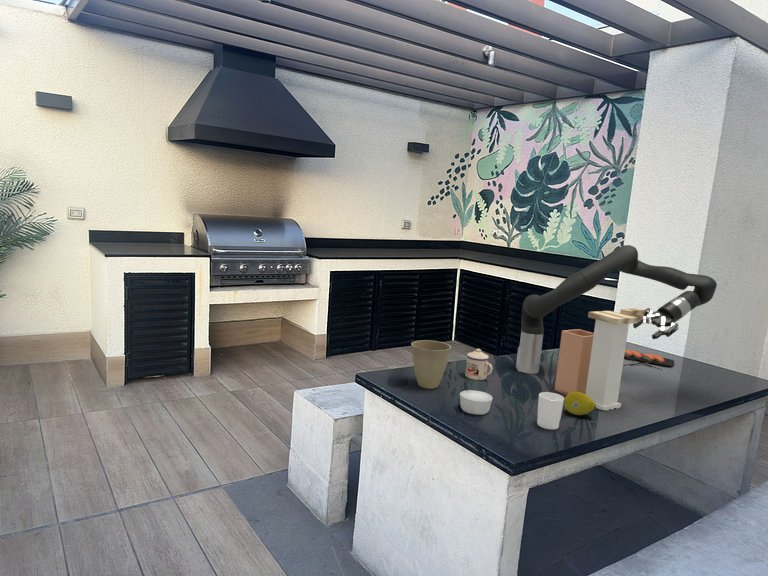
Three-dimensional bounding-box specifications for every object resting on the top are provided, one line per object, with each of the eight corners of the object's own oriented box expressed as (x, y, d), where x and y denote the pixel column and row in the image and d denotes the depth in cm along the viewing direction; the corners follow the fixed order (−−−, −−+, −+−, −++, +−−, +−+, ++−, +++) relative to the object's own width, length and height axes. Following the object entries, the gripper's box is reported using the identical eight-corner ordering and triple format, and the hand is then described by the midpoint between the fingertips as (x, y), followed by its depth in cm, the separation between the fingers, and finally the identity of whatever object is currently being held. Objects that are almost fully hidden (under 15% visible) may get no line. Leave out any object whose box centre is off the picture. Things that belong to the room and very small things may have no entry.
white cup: (543, 431, 177) (547, 401, 175) (530, 421, 184) (534, 392, 183) (565, 430, 179) (569, 400, 178) (551, 420, 187) (555, 391, 185)
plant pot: (436, 378, 222) (440, 339, 220) (453, 391, 208) (457, 350, 206) (402, 380, 217) (405, 340, 214) (417, 393, 203) (421, 350, 201)
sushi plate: (674, 363, 277) (675, 356, 277) (668, 377, 252) (670, 369, 251) (612, 351, 292) (613, 344, 292) (601, 363, 267) (602, 355, 266)
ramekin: (468, 401, 199) (470, 387, 198) (497, 410, 192) (498, 396, 191) (452, 409, 190) (453, 394, 189) (480, 419, 183) (482, 403, 182)
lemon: (557, 411, 196) (560, 389, 194) (569, 407, 201) (572, 386, 199) (585, 422, 187) (588, 399, 186) (597, 417, 192) (600, 395, 191)
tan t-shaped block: (625, 314, 215) (626, 305, 214) (654, 321, 205) (655, 312, 204) (587, 317, 203) (589, 307, 203) (616, 324, 193) (617, 314, 192)
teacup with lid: (459, 375, 228) (462, 348, 227) (473, 372, 235) (476, 345, 233) (483, 383, 220) (486, 355, 218) (497, 380, 226) (500, 352, 224)
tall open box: (571, 387, 224) (579, 329, 220) (592, 395, 216) (600, 335, 212) (554, 390, 219) (562, 330, 215) (574, 398, 211) (583, 336, 207)
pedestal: (597, 398, 213) (609, 316, 208) (620, 407, 205) (633, 322, 200) (580, 401, 208) (591, 317, 203) (603, 411, 199) (615, 323, 194)
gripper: (658, 294, 216) (627, 315, 212) (691, 311, 205) (659, 333, 201) (658, 309, 221) (628, 330, 217) (690, 326, 210) (659, 348, 206)
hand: (643, 331), depth 209 cm, fingers open, 8 cm apart
